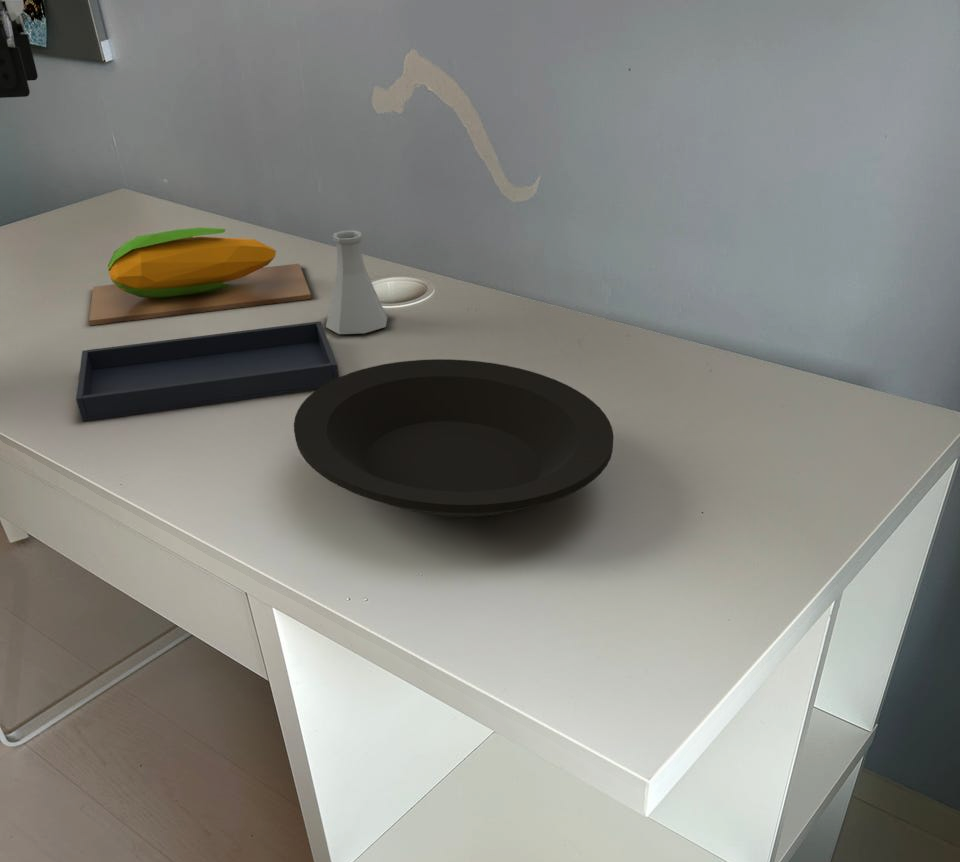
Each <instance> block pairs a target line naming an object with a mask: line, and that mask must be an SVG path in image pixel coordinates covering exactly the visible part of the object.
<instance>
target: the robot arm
mask: <svg viewBox="0 0 960 862" xmlns="http://www.w3.org/2000/svg"><path fill="white" fill-rule="evenodd" d="M24 10H25V5H24V0H0V99H6V98H7V99H8V98H25V97H29V95H30V94H31V91H30V86H29V83H28V82H30V81H37V79H38V78H39V77H38V76H39V75H38V74H39V73H38V70H37V66H36V63H35V58H34V55H33V54H34V53H33V50H32V46H31V42H30V37H29V33H26V28H25V24H24V23H25V22H24V19H23V17H22V13H23V11H24Z"/></svg>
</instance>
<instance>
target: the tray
mask: <svg viewBox="0 0 960 862" xmlns="http://www.w3.org/2000/svg"><path fill="white" fill-rule="evenodd" d="M338 367H339V366H338V364H337V361H336V358H335V355H334V352H333V350H332V347H331V344H330V342H329V339H328V336H327V334H326V331H325V328H324V326H323V323H322V321H321V320H319V321H318V320H317V321H311V322H310V321H309V322H302V323H293V324H287V325H285V324H284V325H278V326H277V325H276V326H270V327H263V328H262V327H261V328H254V329H246V330H237V331H229V332H222V333H221V332H220V333H214V334H205V335H198V336H190V337H181V338H172V339H164V340H158V341H150V342H149V341H148V342H141V343H132V344H125V345H116V346H110V347H109V346H107V347H101V348H94V349H93V348H92V349H84V350H81V358H80V366H79V373H78V379H77V389H76V394H75V395H76V397H75V401H76V404H77V407H78V410H79V415H80V417H81V420H82V423H83V422H91V421H97V420H105V419H106V420H107V419H113V418H119V417H127V416H128V417H129V416H133V415H134V416H135V415H143V414H149V413H156V412H164V411H171V410H179V409H184V408H186V409H187V408H192V407H202V406H209V405H217V404H223V403H229V402H231V403H232V402H237V401H245V400H251V399H259V398H267V397H273V396H281V395H287V394H289V395H290V394H296V393H303V392H310V391H316V390H317V389H319V388H320V387H322V386H323V385H325V384H327V383H328V382H330V381H333V380H335V379H337V378H339V377H340V376H339V375H340V374H339V368H338Z"/></svg>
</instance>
